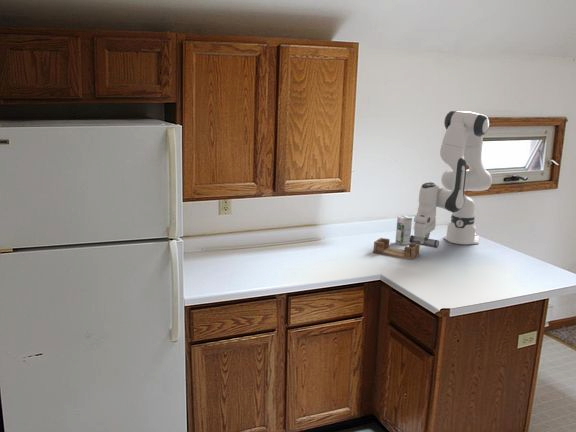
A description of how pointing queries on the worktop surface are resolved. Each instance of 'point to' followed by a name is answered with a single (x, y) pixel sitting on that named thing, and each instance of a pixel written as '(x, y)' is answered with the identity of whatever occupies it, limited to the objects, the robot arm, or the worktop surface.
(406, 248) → the cradle
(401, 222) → the syrup box
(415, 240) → the cylinder
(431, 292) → the worktop surface
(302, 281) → the worktop surface
